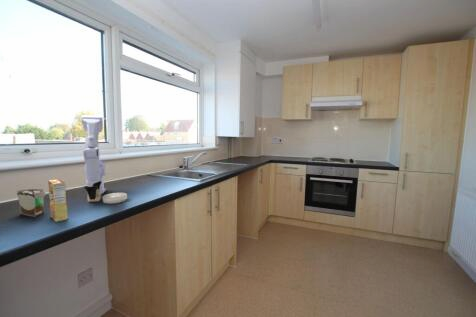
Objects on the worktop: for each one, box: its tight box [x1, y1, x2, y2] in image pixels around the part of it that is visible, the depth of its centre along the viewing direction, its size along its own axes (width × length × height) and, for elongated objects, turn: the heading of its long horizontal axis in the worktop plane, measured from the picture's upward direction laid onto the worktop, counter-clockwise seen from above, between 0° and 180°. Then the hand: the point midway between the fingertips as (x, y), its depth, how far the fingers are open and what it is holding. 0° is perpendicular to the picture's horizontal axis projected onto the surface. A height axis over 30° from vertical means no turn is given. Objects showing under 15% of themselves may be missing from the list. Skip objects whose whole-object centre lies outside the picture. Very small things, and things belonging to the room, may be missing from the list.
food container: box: [16, 188, 47, 218], centre depth 96 cm, size 12×6×10 cm, turn 71°
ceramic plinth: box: [102, 192, 128, 205], centre depth 115 cm, size 11×11×2 cm
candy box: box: [47, 178, 68, 223], centre depth 91 cm, size 9×4×15 cm, turn 50°
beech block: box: [86, 189, 102, 203], centre depth 115 cm, size 5×5×5 cm
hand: (94, 197), depth 115 cm, fingers open, 7 cm apart
